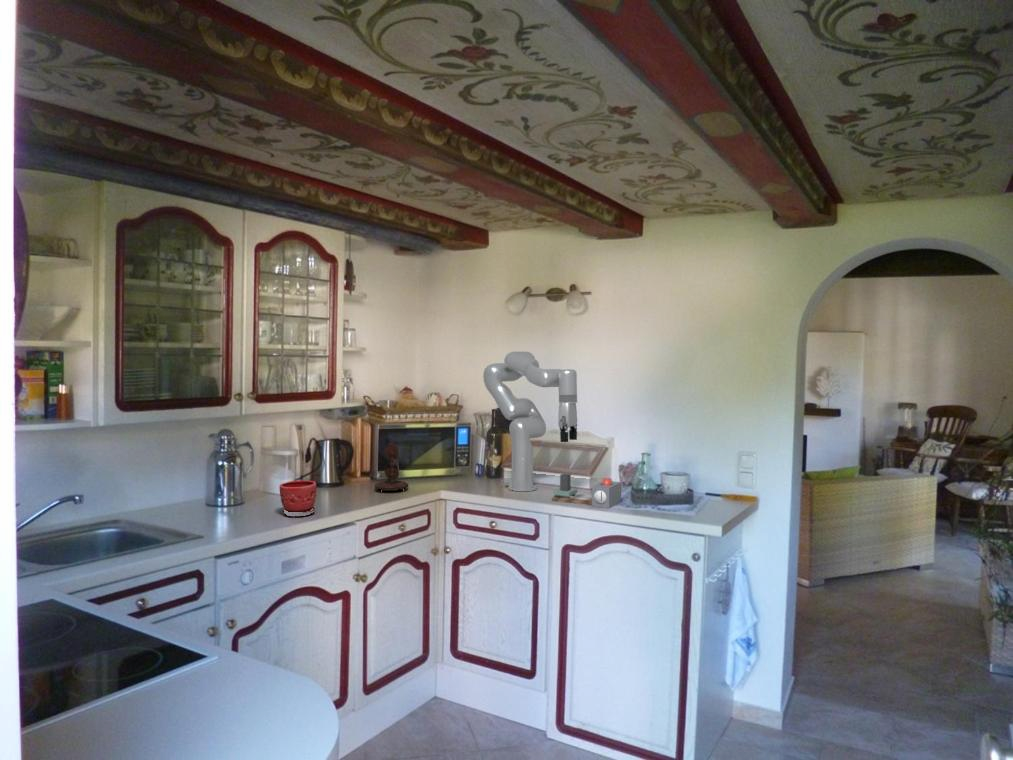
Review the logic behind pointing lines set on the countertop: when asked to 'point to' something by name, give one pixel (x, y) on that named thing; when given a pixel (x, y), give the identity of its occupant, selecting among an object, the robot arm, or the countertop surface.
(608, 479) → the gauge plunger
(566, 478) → the carriage
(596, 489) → the gauge cabinet
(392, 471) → the dark wooden figurine
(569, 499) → the rail board
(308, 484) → the plant pot
